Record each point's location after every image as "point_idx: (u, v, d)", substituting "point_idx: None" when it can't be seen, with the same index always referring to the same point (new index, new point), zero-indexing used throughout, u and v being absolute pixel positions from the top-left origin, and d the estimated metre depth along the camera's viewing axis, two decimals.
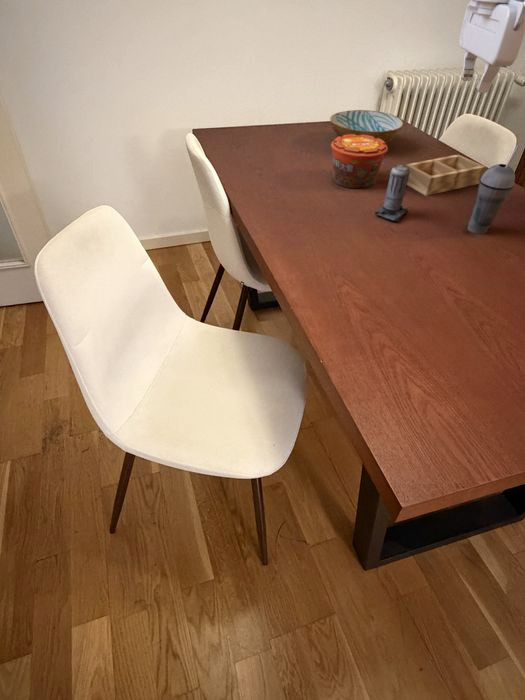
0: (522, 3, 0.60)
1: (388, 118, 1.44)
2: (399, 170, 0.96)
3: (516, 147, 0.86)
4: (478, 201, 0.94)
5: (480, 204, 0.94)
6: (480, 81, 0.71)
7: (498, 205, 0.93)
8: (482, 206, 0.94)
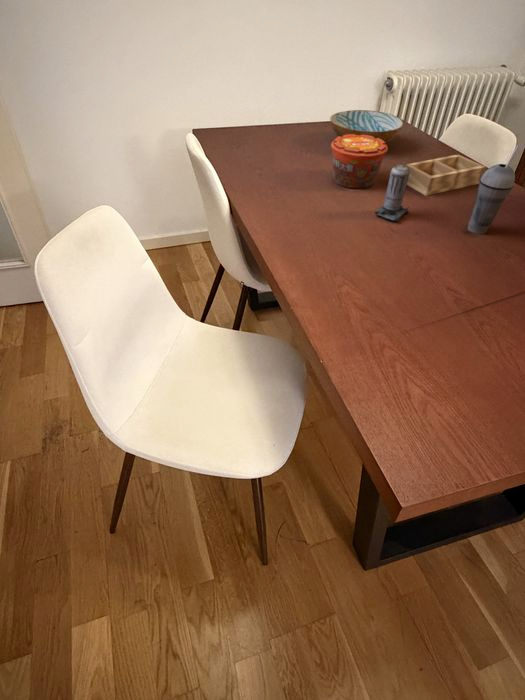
0: None
1: (388, 118, 1.44)
2: (399, 170, 0.96)
3: (516, 147, 0.86)
4: (478, 201, 0.94)
5: (480, 204, 0.94)
6: None
7: (498, 205, 0.93)
8: (482, 206, 0.94)
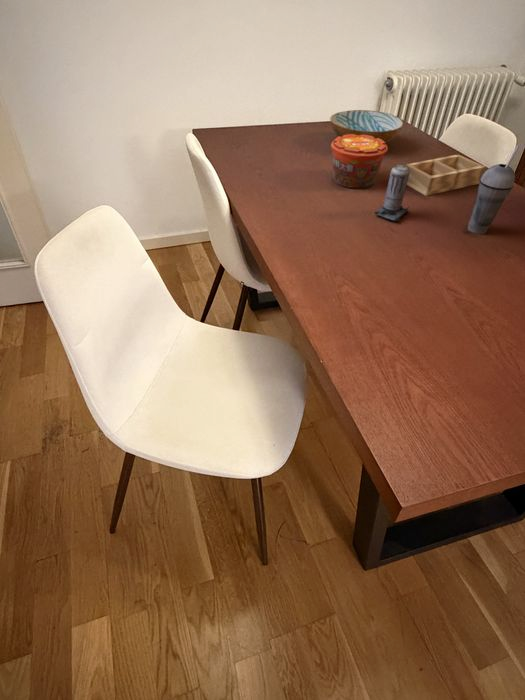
0: None
1: (388, 118, 1.44)
2: (399, 170, 0.96)
3: (516, 147, 0.86)
4: (478, 201, 0.94)
5: (480, 204, 0.94)
6: None
7: (498, 205, 0.93)
8: (482, 206, 0.94)
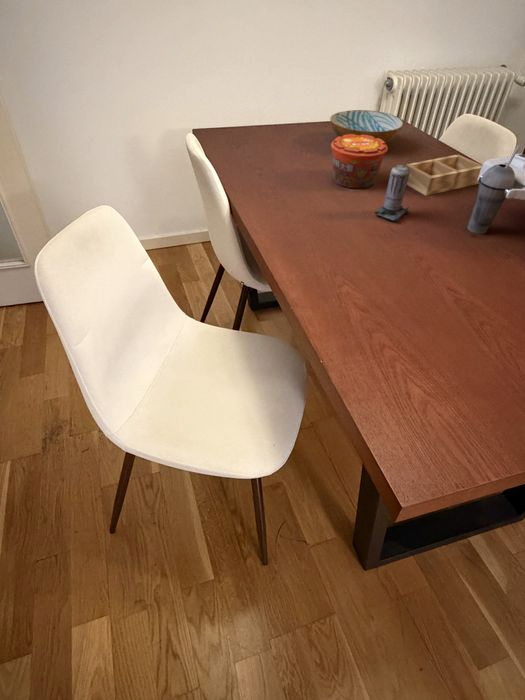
0: None
1: (388, 118, 1.44)
2: (399, 170, 0.96)
3: (516, 148, 0.86)
4: (478, 201, 0.94)
5: (480, 204, 0.94)
6: (514, 189, 0.89)
7: (498, 205, 0.93)
8: (482, 206, 0.94)
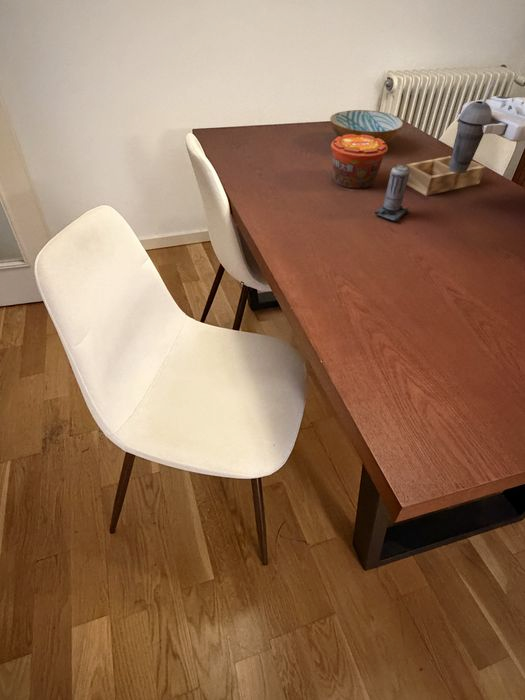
0: None
1: (388, 118, 1.44)
2: (399, 170, 0.96)
3: (492, 82, 0.90)
4: (457, 139, 0.99)
5: (459, 142, 0.99)
6: (491, 124, 0.93)
7: (476, 142, 0.97)
8: (461, 143, 0.98)
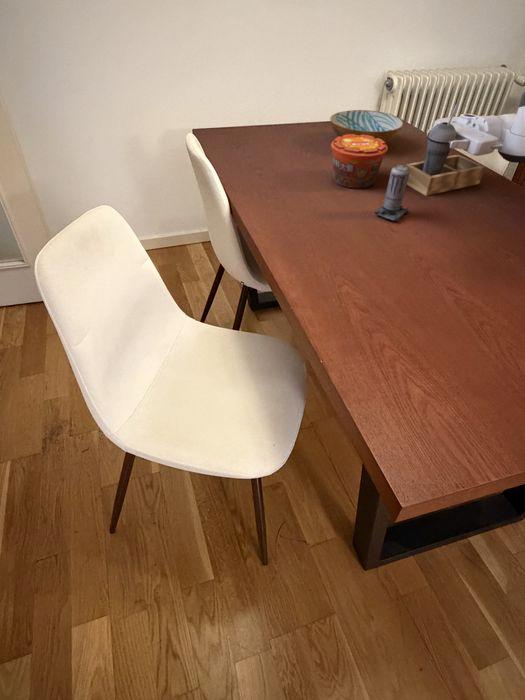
0: (501, 144, 1.06)
1: (388, 118, 1.44)
2: (399, 170, 0.96)
3: (455, 106, 1.04)
4: (427, 155, 1.12)
5: (428, 157, 1.12)
6: (456, 140, 1.06)
7: (443, 158, 1.11)
8: (430, 159, 1.12)
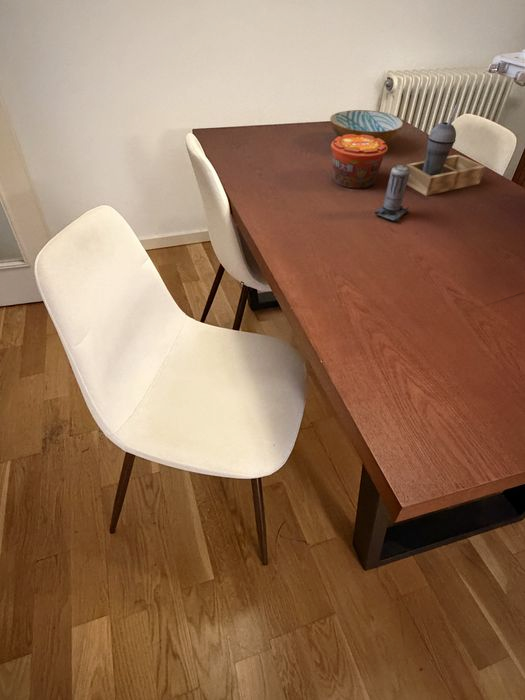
0: None
1: (388, 118, 1.44)
2: (399, 170, 0.96)
3: (455, 107, 1.04)
4: (427, 155, 1.12)
5: (428, 157, 1.12)
6: None
7: (443, 158, 1.11)
8: (430, 159, 1.12)
